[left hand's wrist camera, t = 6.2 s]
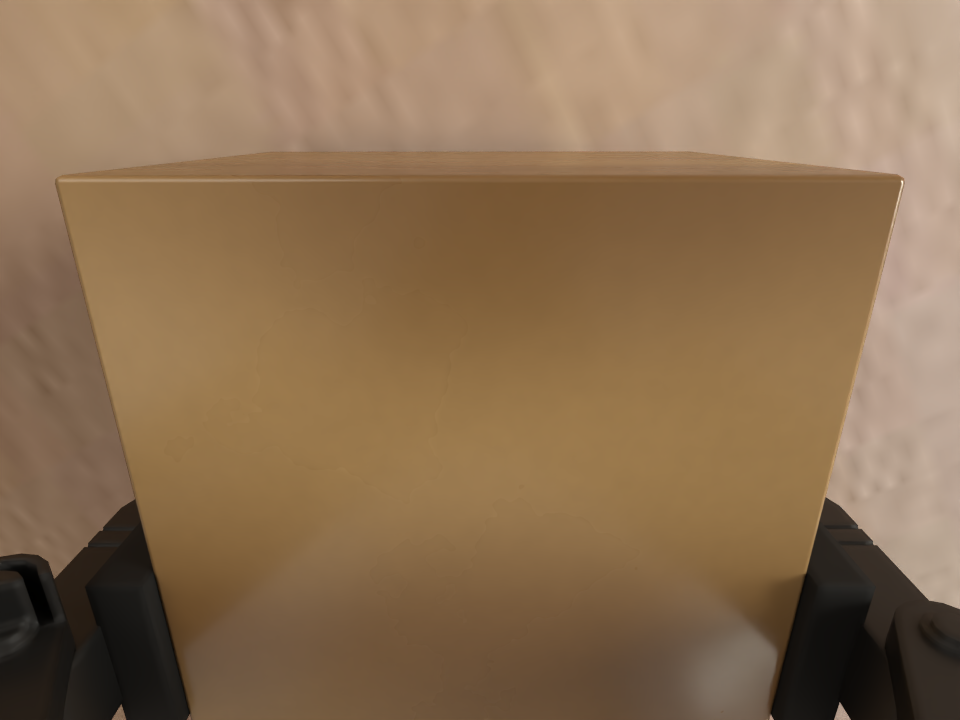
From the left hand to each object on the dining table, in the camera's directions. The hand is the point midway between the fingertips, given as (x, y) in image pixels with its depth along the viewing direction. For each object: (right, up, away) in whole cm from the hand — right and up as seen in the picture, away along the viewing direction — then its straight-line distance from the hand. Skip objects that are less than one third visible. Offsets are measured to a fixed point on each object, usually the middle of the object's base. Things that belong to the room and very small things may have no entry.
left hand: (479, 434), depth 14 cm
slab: (0, -23, +9) cm, 25 cm away
